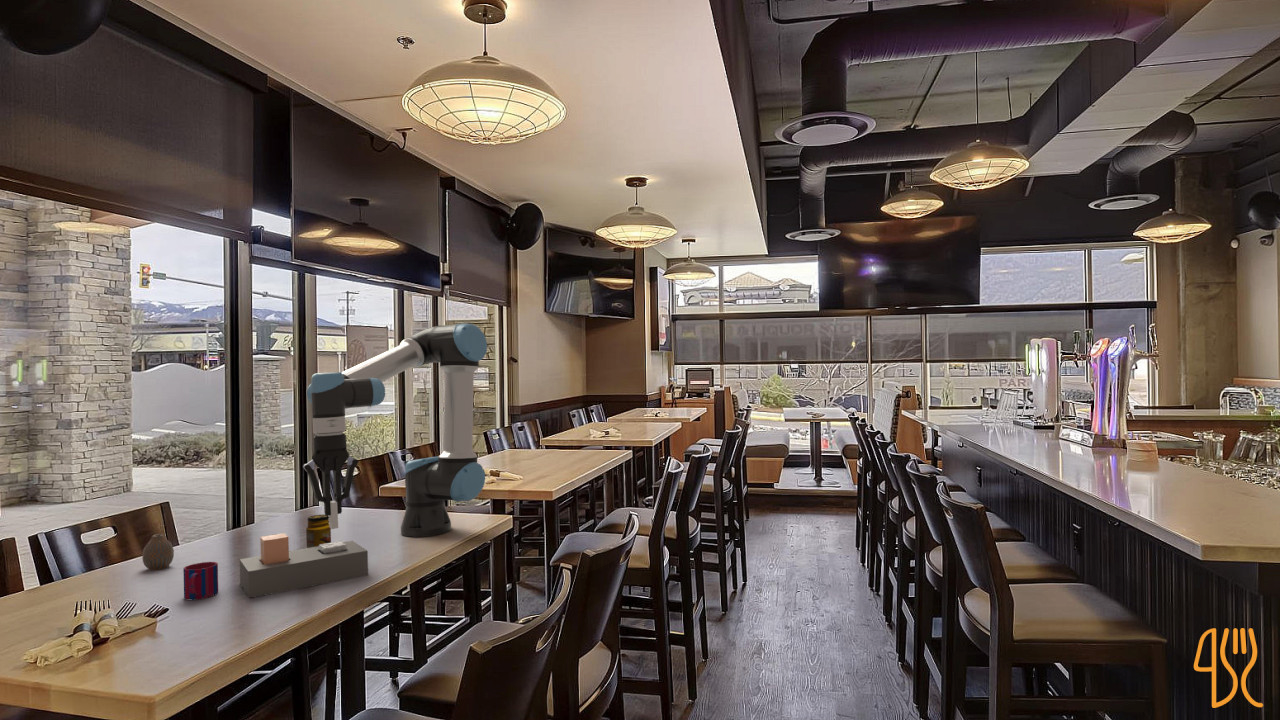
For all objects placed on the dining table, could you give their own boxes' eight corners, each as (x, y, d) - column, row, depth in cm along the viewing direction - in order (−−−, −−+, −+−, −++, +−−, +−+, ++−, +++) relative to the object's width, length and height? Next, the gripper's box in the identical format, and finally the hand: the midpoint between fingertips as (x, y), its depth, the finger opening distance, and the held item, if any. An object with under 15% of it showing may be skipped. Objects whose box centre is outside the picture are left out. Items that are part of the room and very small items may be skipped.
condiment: (336, 560, 188) (335, 515, 188) (303, 567, 182) (302, 521, 182) (326, 555, 193) (325, 512, 193) (294, 562, 187) (293, 517, 187)
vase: (136, 571, 183) (135, 537, 183) (159, 564, 190) (159, 531, 190) (157, 572, 181) (156, 538, 182) (180, 564, 188) (179, 532, 188)
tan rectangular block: (284, 557, 170) (284, 533, 170) (289, 562, 166) (288, 536, 166) (260, 561, 167) (260, 536, 167) (264, 566, 163) (263, 540, 163)
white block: (341, 564, 178) (340, 541, 178) (346, 568, 174) (346, 544, 174) (319, 568, 175) (319, 544, 175) (324, 572, 171) (323, 548, 171)
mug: (223, 589, 164) (222, 560, 164) (204, 603, 154) (204, 572, 155) (192, 592, 163) (191, 563, 163) (171, 606, 153) (170, 575, 153)
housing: (352, 563, 184) (352, 540, 184) (368, 574, 173) (367, 550, 173) (240, 584, 168) (239, 559, 168) (248, 598, 157) (248, 571, 157)
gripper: (304, 437, 168) (309, 535, 168) (360, 432, 176) (364, 525, 176) (298, 435, 174) (302, 529, 174) (352, 430, 182) (356, 520, 182)
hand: (333, 527), depth 175 cm, fingers closed
